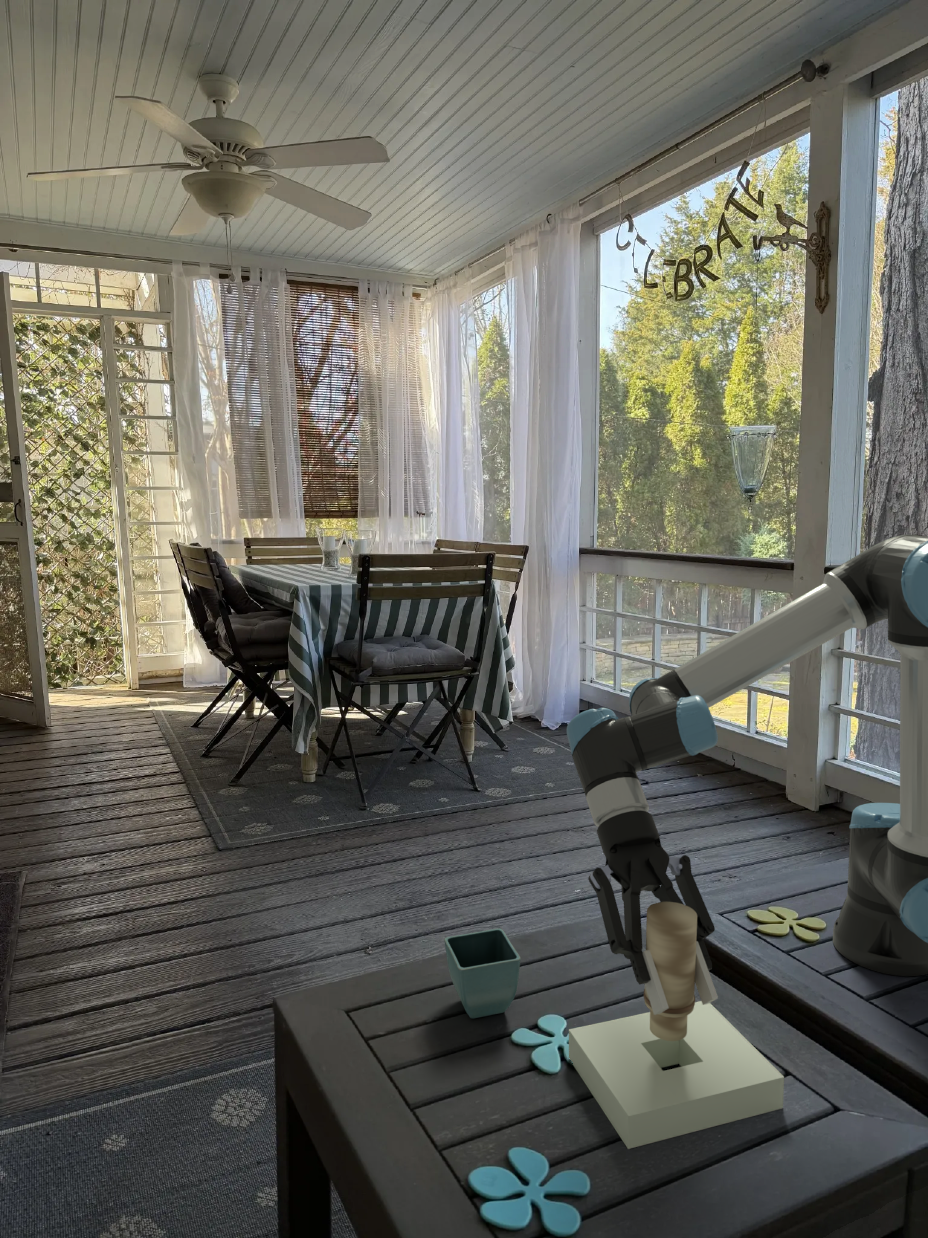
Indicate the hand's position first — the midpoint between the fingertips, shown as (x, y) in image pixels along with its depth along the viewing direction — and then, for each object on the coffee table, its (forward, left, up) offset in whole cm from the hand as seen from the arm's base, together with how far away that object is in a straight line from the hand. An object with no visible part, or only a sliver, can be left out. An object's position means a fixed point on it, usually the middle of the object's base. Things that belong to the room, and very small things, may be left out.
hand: (686, 1006), depth 99 cm
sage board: (0, -4, -12) cm, 13 cm away
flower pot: (+17, -26, -13) cm, 33 cm away
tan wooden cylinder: (0, -4, -5) cm, 7 cm away
